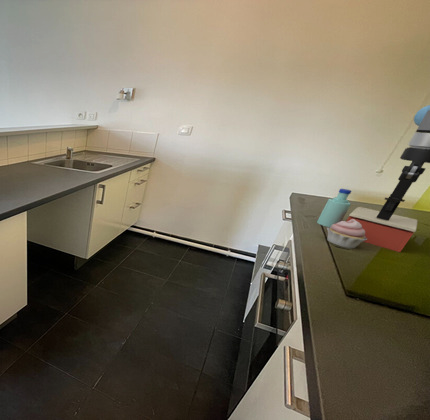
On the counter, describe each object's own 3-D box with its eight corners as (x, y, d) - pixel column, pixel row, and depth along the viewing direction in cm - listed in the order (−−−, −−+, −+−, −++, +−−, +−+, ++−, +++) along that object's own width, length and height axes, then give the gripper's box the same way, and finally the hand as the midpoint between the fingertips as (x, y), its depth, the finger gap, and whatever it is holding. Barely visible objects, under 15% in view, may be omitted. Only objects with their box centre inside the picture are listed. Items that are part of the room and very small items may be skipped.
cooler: (398, 254, 80) (413, 233, 77) (337, 236, 91) (348, 217, 87) (402, 241, 89) (416, 222, 86) (346, 226, 100) (357, 208, 97)
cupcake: (315, 236, 90) (328, 211, 86) (349, 242, 86) (364, 217, 82) (328, 248, 82) (343, 221, 78) (366, 255, 78) (384, 228, 74)
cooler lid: (414, 232, 76) (416, 229, 76) (349, 215, 87) (350, 213, 86) (416, 221, 86) (417, 219, 86) (357, 208, 97) (358, 206, 97)
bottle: (334, 226, 99) (354, 189, 93) (338, 231, 95) (360, 193, 89) (314, 222, 103) (332, 186, 96) (317, 226, 98) (337, 189, 92)
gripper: (449, 151, 68) (398, 227, 77) (448, 149, 75) (401, 219, 84) (405, 147, 73) (362, 218, 83) (407, 145, 80) (368, 211, 89)
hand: (382, 218), depth 83 cm, fingers closed
